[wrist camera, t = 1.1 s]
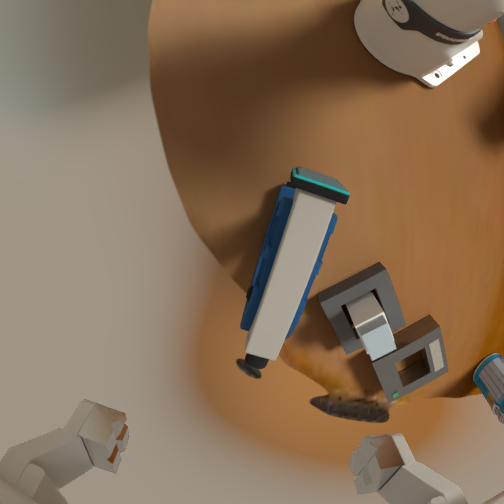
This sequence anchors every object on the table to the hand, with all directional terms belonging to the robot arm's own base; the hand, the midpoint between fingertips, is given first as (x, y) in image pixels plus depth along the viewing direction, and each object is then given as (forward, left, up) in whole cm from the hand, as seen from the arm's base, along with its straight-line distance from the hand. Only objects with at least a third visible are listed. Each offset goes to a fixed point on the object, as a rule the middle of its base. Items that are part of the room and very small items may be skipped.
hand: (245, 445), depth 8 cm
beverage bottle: (-27, +47, -32) cm, 63 cm away
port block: (-10, +30, -32) cm, 45 cm away
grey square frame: (-6, +16, -32) cm, 36 cm away
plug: (-6, +16, -32) cm, 36 cm away
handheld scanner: (-1, 0, -32) cm, 32 cm away
